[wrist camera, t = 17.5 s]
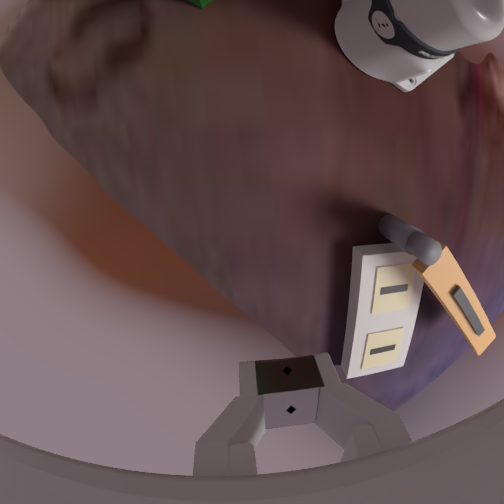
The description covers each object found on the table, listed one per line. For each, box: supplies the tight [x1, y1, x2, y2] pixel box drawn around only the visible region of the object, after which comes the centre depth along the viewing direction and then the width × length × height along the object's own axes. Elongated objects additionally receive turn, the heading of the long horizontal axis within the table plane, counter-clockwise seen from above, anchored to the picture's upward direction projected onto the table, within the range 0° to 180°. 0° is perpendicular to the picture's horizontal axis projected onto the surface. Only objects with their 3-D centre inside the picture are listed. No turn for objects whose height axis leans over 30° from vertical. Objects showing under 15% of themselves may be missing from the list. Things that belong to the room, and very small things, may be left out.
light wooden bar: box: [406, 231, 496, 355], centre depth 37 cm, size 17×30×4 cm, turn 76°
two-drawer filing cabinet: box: [341, 214, 424, 379], centre depth 44 cm, size 29×12×8 cm, turn 4°
